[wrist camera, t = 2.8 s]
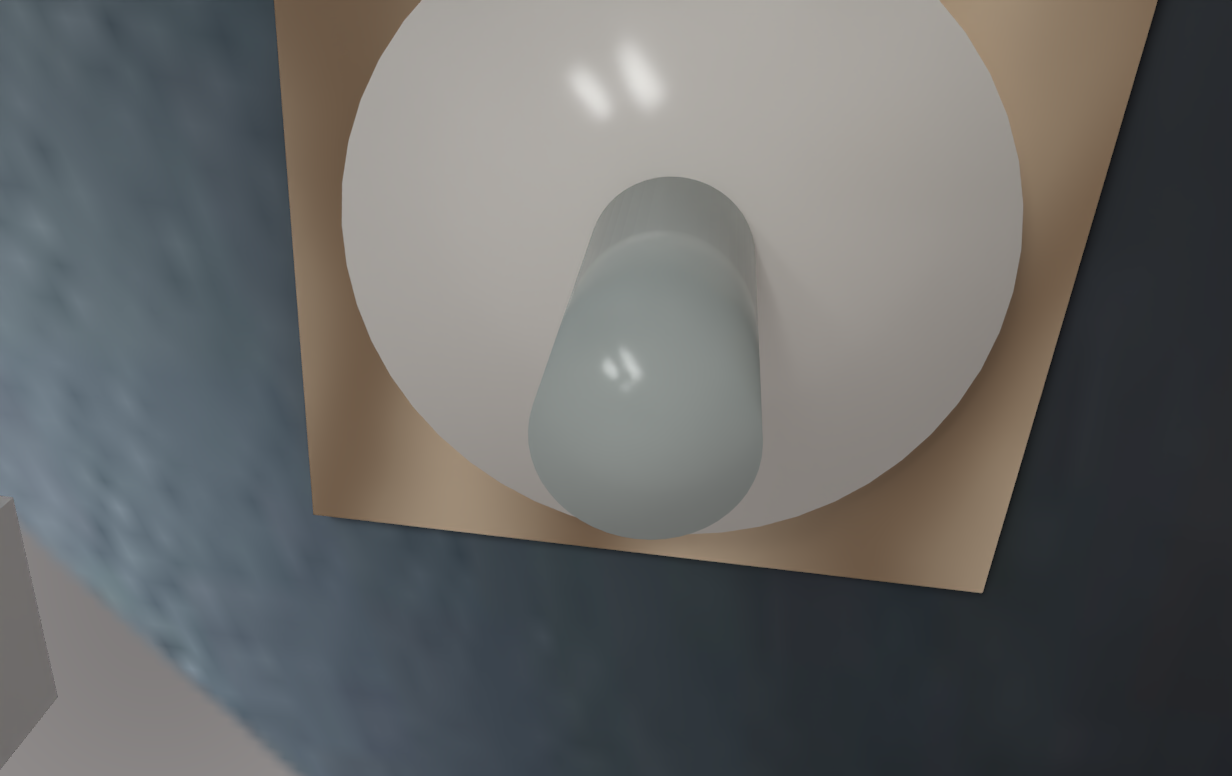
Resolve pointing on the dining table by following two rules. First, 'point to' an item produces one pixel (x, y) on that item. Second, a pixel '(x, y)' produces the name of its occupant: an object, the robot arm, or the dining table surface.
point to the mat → (813, 542)
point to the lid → (682, 245)
